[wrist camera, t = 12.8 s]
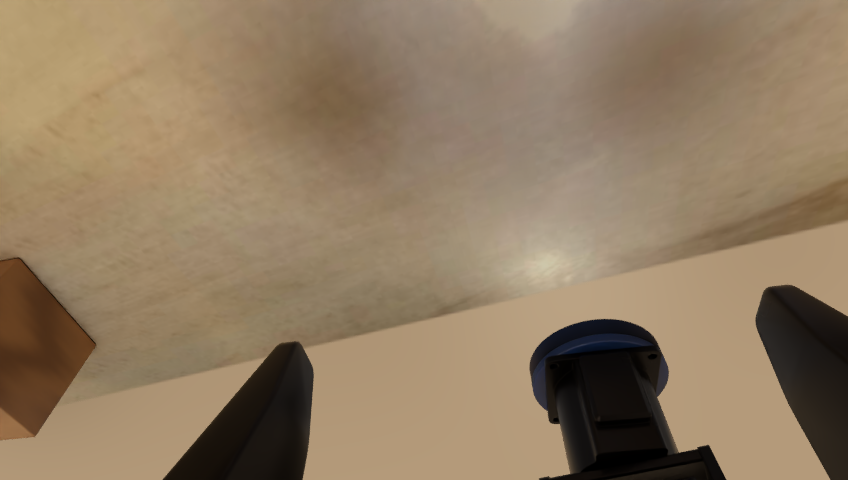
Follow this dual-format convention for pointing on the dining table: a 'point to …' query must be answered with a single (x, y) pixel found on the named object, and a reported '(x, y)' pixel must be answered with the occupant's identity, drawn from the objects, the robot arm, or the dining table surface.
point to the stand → (34, 351)
